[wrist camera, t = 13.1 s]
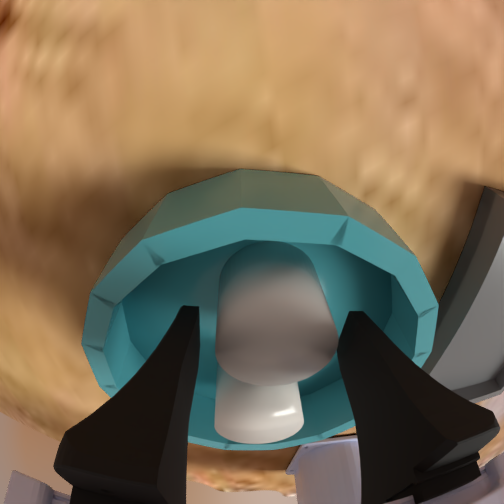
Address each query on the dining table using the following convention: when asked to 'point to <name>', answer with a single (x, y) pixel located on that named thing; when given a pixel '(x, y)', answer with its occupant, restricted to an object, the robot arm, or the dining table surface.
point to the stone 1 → (272, 316)
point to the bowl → (208, 273)
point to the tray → (474, 311)
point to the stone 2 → (256, 410)
